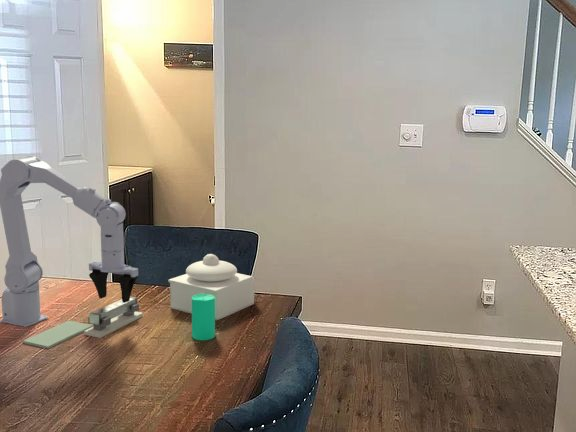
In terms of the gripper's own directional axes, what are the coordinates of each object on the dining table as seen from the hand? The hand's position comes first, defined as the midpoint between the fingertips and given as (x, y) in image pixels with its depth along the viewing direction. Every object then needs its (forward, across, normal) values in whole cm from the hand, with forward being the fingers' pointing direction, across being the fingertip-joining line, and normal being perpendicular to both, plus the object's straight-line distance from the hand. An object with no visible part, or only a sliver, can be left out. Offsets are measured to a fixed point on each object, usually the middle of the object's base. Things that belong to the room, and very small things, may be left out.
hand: (114, 299), depth 168 cm
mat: (+7, -8, -12) cm, 16 cm away
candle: (+8, +25, +4) cm, 26 cm away
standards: (+7, 0, 0) cm, 7 cm away
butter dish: (+8, +15, +25) cm, 31 cm away
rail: (+4, 0, 0) cm, 4 cm away
